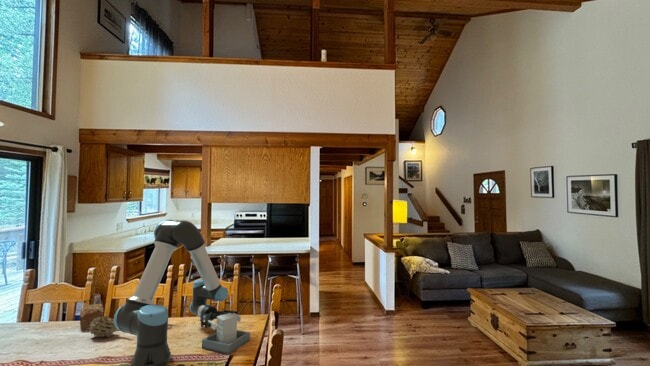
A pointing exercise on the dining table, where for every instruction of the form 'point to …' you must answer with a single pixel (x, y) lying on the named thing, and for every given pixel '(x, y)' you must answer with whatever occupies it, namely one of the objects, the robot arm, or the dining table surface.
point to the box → (224, 348)
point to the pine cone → (102, 327)
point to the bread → (90, 315)
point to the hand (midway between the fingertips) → (228, 322)
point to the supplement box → (226, 328)
